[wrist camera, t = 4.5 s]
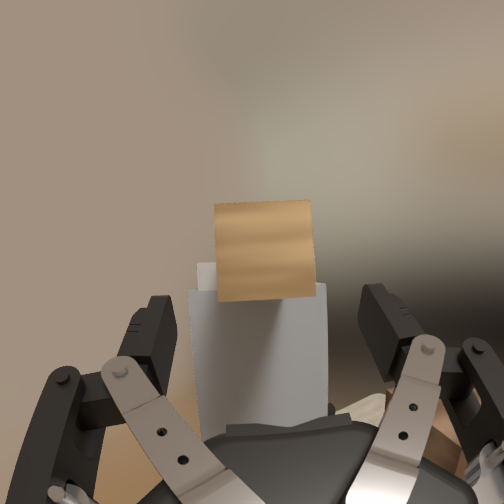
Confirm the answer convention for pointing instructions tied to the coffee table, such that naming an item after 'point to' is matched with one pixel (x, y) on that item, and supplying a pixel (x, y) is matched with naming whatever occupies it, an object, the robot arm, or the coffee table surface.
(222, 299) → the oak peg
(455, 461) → the walnut step
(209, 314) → the grey stand
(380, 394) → the coffee table surface
